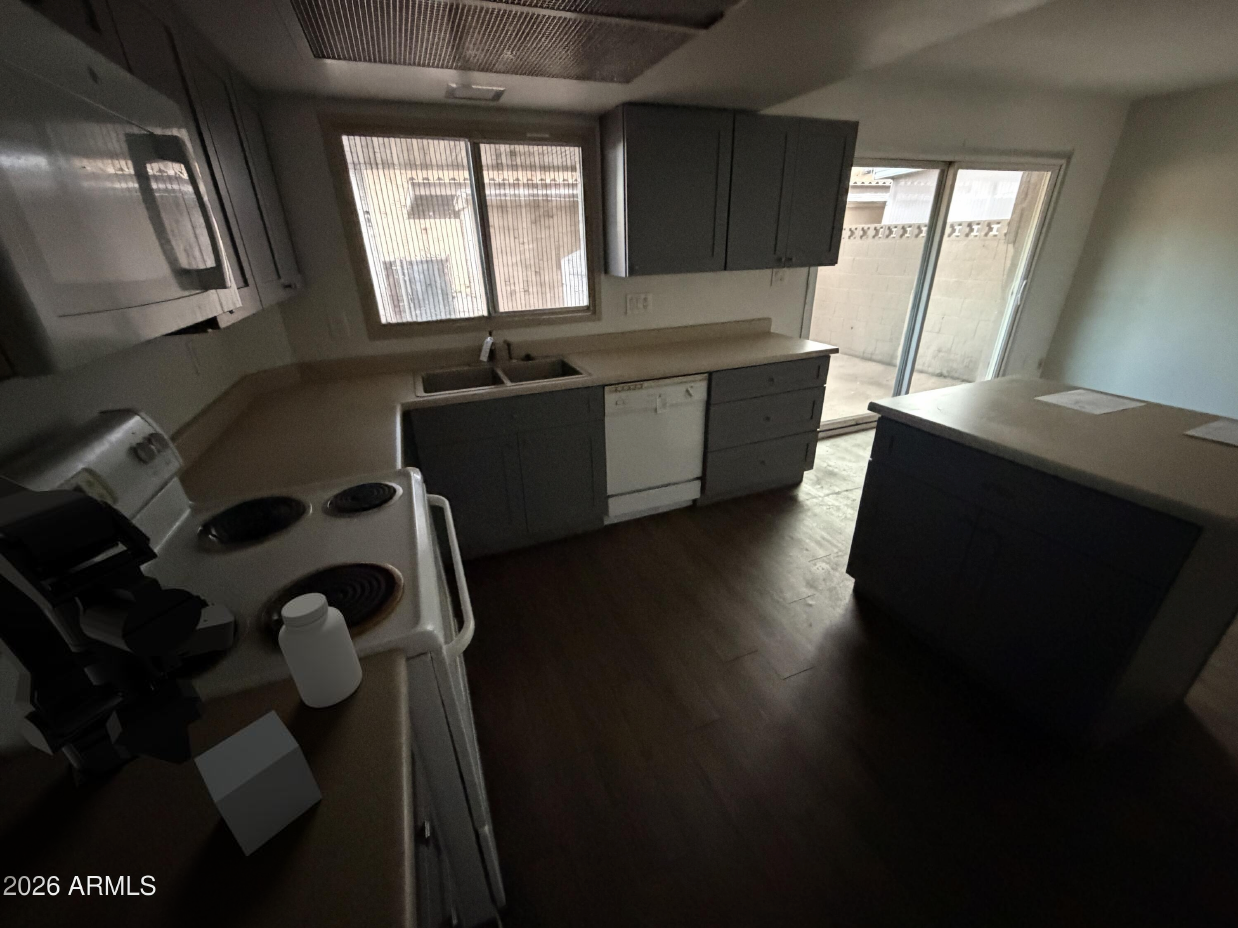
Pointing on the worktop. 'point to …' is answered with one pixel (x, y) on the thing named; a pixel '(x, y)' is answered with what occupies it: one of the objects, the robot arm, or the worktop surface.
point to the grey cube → (259, 781)
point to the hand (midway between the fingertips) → (173, 736)
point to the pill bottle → (319, 651)
